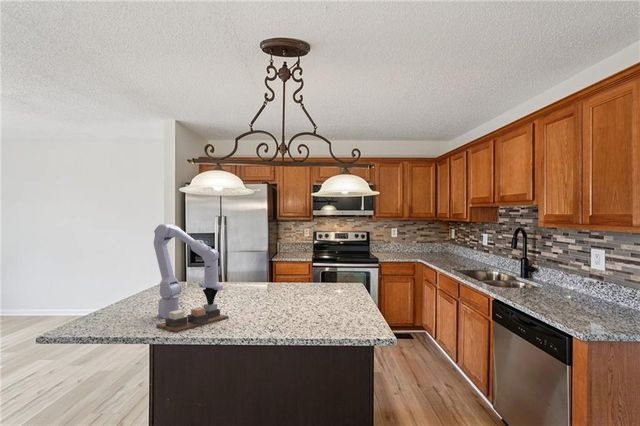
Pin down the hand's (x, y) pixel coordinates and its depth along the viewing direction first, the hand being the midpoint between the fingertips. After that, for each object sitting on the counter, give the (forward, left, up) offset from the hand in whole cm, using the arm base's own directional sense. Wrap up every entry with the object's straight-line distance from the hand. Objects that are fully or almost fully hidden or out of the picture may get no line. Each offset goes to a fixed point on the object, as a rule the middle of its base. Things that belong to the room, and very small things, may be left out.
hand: (210, 304), depth 179 cm
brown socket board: (0, -9, -6) cm, 11 cm away
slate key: (0, 0, -3) cm, 3 cm away
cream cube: (0, -18, -3) cm, 18 cm away
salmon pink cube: (+3, -9, -3) cm, 10 cm away
